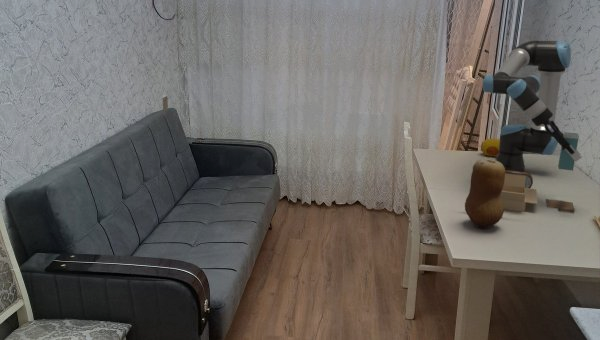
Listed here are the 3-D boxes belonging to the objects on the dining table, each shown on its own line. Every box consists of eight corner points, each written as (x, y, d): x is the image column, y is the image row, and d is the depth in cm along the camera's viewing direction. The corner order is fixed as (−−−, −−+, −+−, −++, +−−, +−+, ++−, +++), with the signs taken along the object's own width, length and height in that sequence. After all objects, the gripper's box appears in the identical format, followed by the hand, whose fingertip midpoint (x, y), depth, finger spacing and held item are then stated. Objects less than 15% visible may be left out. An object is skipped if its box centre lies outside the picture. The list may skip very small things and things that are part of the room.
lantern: (525, 139, 285) (469, 133, 299) (522, 146, 278) (465, 140, 292) (523, 155, 290) (468, 148, 304) (520, 163, 282) (464, 155, 296)
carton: (472, 209, 209) (475, 187, 206) (478, 190, 232) (480, 171, 229) (535, 218, 200) (538, 195, 197) (534, 198, 223) (537, 177, 221)
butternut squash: (508, 230, 187) (517, 164, 180) (476, 234, 184) (484, 166, 177) (485, 217, 200) (492, 154, 193) (454, 220, 196) (461, 156, 189)
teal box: (558, 169, 206) (564, 134, 202) (558, 165, 211) (563, 132, 207) (573, 170, 204) (579, 135, 200) (572, 167, 209) (577, 133, 205)
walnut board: (546, 209, 210) (546, 206, 210) (545, 201, 219) (546, 198, 218) (574, 212, 206) (574, 210, 206) (572, 205, 215) (572, 202, 215)
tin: (531, 190, 234) (534, 172, 231) (531, 192, 231) (534, 174, 229) (496, 186, 238) (498, 168, 236) (496, 188, 236) (498, 170, 233)
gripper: (530, 115, 216) (567, 158, 214) (530, 122, 200) (571, 169, 198) (546, 104, 212) (584, 147, 211) (547, 110, 196) (589, 157, 195)
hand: (577, 157), depth 205 cm, fingers closed on teal box, 5 cm apart
